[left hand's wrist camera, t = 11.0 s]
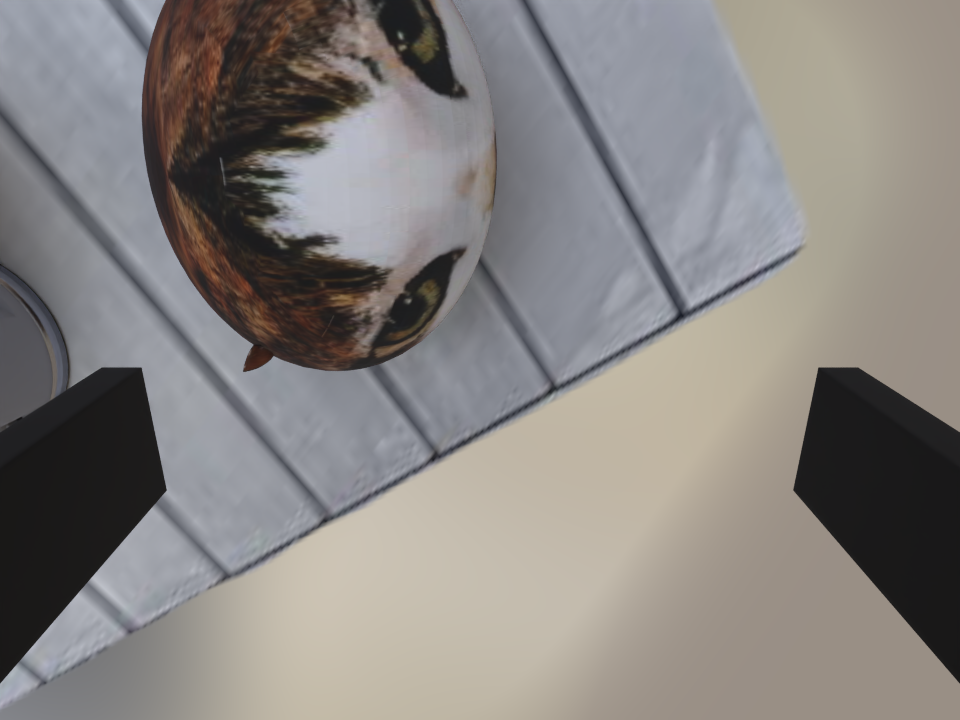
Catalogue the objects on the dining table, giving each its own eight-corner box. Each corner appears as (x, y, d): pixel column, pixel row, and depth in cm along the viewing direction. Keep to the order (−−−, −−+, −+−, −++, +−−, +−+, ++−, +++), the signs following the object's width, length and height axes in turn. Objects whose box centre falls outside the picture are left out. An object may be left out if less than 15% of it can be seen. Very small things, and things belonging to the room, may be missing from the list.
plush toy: (575, 347, 40) (316, 476, 25) (386, 293, 50) (126, 362, 36) (610, -67, 31) (251, -224, 17) (373, -28, 42) (28, -105, 27)
